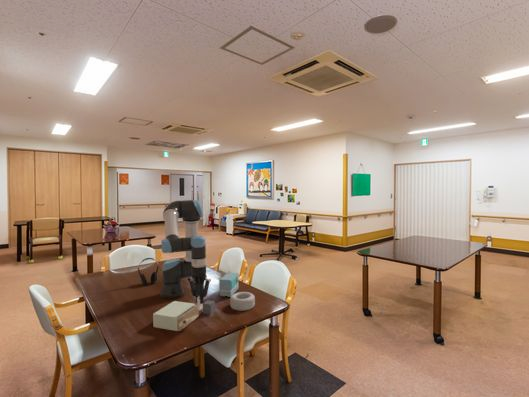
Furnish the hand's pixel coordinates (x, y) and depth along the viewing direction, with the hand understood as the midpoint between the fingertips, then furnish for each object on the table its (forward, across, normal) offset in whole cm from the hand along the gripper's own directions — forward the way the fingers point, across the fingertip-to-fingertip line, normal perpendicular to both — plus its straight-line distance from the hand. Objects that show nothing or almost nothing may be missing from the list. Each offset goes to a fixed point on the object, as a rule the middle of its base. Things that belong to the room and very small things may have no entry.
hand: (200, 309), depth 154 cm
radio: (+9, -4, +44) cm, 46 cm away
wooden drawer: (+8, -13, -2) cm, 15 cm away
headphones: (+11, -72, +44) cm, 86 cm away
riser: (+8, -2, +14) cm, 16 cm away
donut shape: (+9, +12, +28) cm, 31 cm away
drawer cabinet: (+8, -14, -2) cm, 17 cm away
